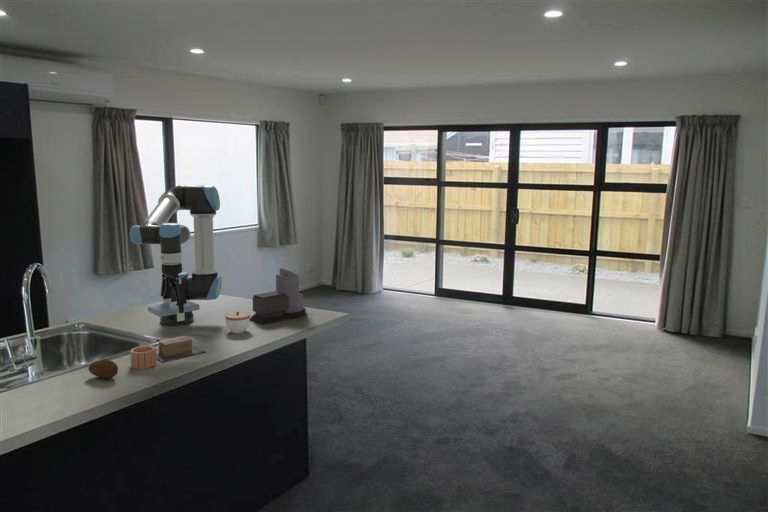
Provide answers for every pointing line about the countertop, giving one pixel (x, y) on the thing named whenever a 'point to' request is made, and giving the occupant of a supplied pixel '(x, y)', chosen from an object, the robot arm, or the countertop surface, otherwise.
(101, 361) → the potato
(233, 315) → the lidded jar
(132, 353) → the bowl
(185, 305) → the cover board
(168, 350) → the stand
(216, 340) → the countertop surface
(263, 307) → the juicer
